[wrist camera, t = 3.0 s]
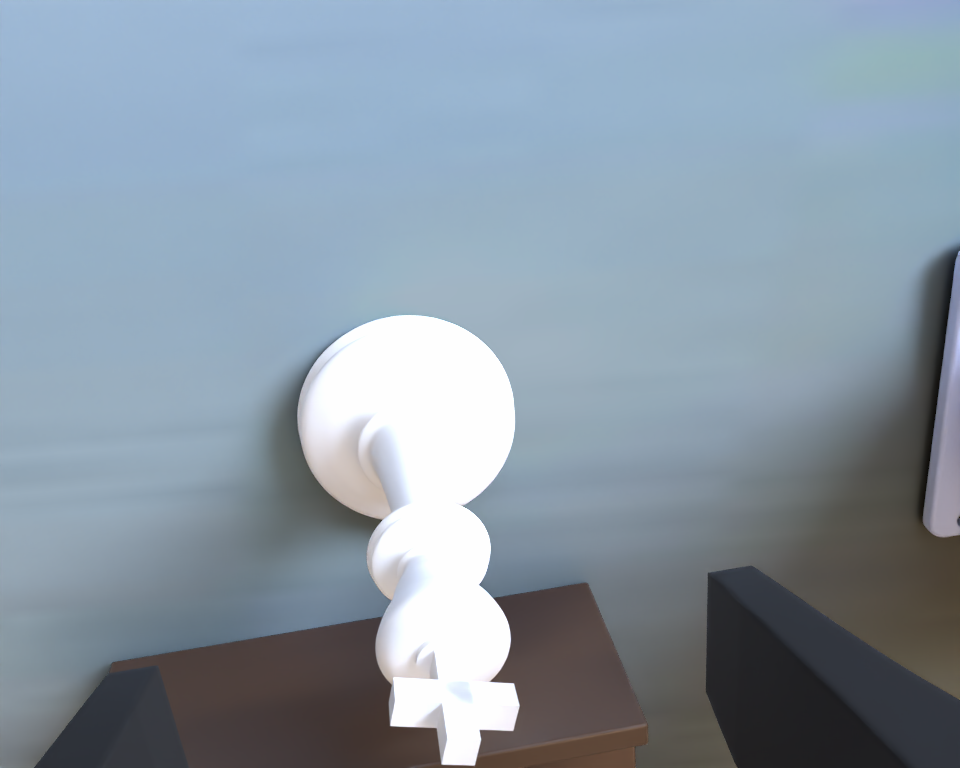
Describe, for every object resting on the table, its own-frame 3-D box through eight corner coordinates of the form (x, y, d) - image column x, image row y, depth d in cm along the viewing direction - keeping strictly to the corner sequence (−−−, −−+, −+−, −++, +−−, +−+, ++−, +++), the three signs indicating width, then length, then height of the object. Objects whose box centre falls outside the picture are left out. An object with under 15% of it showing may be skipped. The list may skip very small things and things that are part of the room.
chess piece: (491, 518, 22) (599, 889, 13) (286, 500, 21) (244, 888, 12) (532, 330, 20) (693, 605, 11) (311, 300, 19) (284, 576, 10)
